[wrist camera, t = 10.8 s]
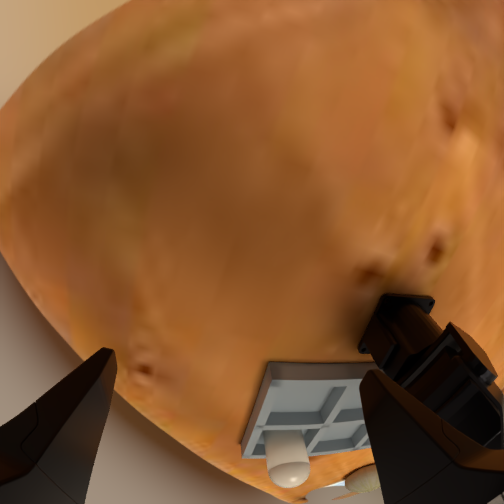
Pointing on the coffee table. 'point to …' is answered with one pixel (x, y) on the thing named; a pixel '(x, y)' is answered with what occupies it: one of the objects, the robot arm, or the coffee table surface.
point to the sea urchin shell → (363, 480)
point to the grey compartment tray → (310, 407)
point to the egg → (286, 457)
